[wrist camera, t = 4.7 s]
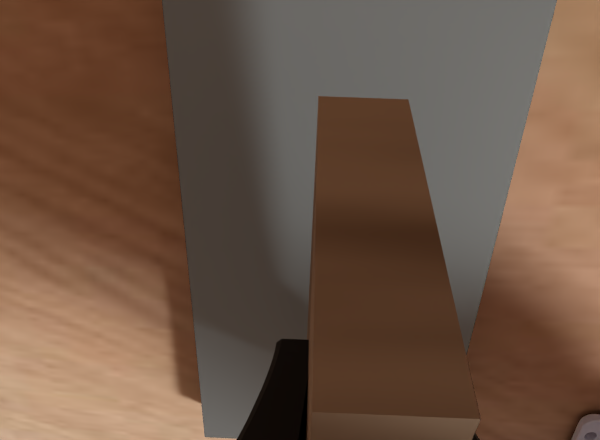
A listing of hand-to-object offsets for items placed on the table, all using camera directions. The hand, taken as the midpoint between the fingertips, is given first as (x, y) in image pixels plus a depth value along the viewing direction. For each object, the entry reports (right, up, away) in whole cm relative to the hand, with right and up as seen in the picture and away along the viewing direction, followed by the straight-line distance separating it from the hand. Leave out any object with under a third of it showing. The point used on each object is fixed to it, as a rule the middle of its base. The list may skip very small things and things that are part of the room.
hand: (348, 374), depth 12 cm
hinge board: (0, +2, +8) cm, 8 cm away
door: (0, +1, +3) cm, 3 cm away
